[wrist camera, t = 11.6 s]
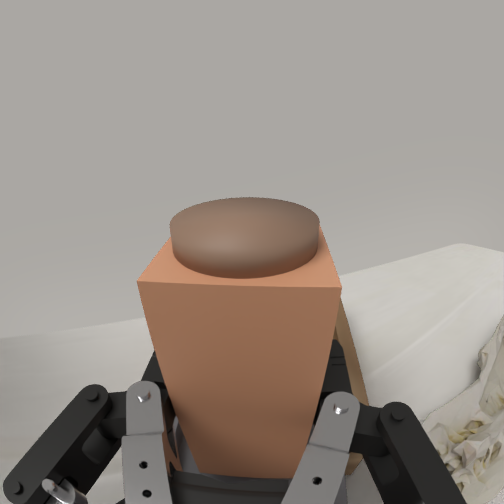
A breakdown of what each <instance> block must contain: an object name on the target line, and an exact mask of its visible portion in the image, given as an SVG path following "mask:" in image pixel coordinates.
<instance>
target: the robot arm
mask: <svg viewBox="0 0 504 504" xmlns="http://www.w3.org/2000/svg"><path fill="white" fill-rule="evenodd" d="M175 416H176V413H175V410H174V408H173V405H172V402H171V399H170V396H169V393H168V391H167V388H166V385H165V382H164V379H163V376H162V372H161V369H160V366H159V363H158V360H157V356H156V353H155V350H154V352H153V355H152V357H151V359H150V361H149V364H148V366H147V368H146V370H145V373H144V375H143V377H142V379H141V381H139V382H137V383H134V384H133V385H132V386H130V388H129V389H128V391H125V392H114V393H108V392H107V390H106V389H105V388H104V387H103V386H101V385H98V384H93V385H89V386H86V387H85V388H83V389H82V390H81V391H80V392H79V393H78V395H77V396H76V397H75V398H74V399H73V400H72V401H71V402H70V403H69V405H68V406H67V407H66V408H65V409H64V410H63V411H62V413H61V414H60V415H59V416H58V417H57V418H56V419H55V420H54V422H53V423H52V424H51V425H50V426H49V427H48V429H47V430H46V431H45V432H44V433H43V434H42V435H41V437H40V438H39V439H38V440H37V441H36V442H35V444H34V445H33V446H32V447H31V448H30V450H29V451H28V452H27V453H26V454H25V455H24V457H23V458H22V459H21V460H20V461H19V463H18V464H17V465H16V466H15V467H14V469H13V470H12V471H11V472H10V473H9V475H8V476H7V477H6V479H5V480H4V483H3V491H4V494H5V496H6V498H7V499H8V500H9V501H10V502H12V503H13V504H88V502H87V499H86V494H87V493H88V492H89V490H90V489H91V487H92V486H93V485H94V483H95V482H96V480H97V479H98V478H99V476H100V475H101V473H102V472H103V471H104V469H105V468H106V466H107V465H108V464H109V462H110V461H111V459H112V458H113V457H114V455H115V454H116V452H117V451H118V450H119V448H120V447H121V445H122V466H123V481H124V493H125V498H124V499H123V500H121V501H119V502H118V503H116V504H334V501H335V499H336V496H337V493H338V490H339V487H340V484H341V481H342V478H343V475H344V472H345V469H346V466H347V462H348V459H349V452H353V453H359V454H362V455H363V458H364V460H365V462H366V464H367V466H368V469H369V471H370V473H371V475H372V477H373V480H374V482H375V484H376V486H377V488H378V491H379V493H380V495H381V497H382V500H383V502H384V504H467V503H466V501H465V499H464V497H463V495H462V494H461V492H460V490H459V488H458V486H457V485H456V483H455V481H454V479H453V478H452V476H451V474H450V472H449V471H448V469H447V467H446V465H445V464H444V462H443V460H442V459H441V457H440V455H439V454H438V452H437V450H436V448H435V447H434V445H433V443H432V442H431V440H430V439H429V437H428V435H427V434H426V432H425V430H424V429H423V427H422V425H421V424H420V422H419V421H418V419H417V417H416V416H415V414H414V413H413V411H412V410H411V408H410V407H409V406H407V405H406V404H404V403H401V402H391V403H388V404H386V405H385V406H384V407H383V408H377V407H372V406H367V405H364V404H362V403H360V402H359V401H358V399H357V398H356V397H355V396H354V395H353V393H352V389H351V384H350V379H349V374H348V369H347V366H346V360H345V356H344V351H343V347H342V346H341V345H340V343H339V342H338V341H337V340H336V339H333V340H332V345H331V350H330V354H329V359H328V364H327V368H326V372H325V377H324V381H323V385H322V389H321V393H320V397H319V401H318V405H317V409H316V413H315V417H314V420H313V424H312V425H314V430H313V433H312V436H311V438H310V441H309V443H308V444H307V446H306V449H305V451H304V454H303V456H302V458H301V461H300V463H299V465H298V468H297V470H296V472H295V475H294V477H293V479H292V481H291V483H290V486H289V480H255V481H249V482H242V483H234V484H228V483H225V482H222V481H219V480H216V479H213V478H210V477H207V476H205V475H202V474H195V473H189V472H183V470H182V467H181V464H180V460H179V454H178V448H177V442H176V436H175V429H174V425H173V423H174V419H175Z"/></svg>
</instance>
